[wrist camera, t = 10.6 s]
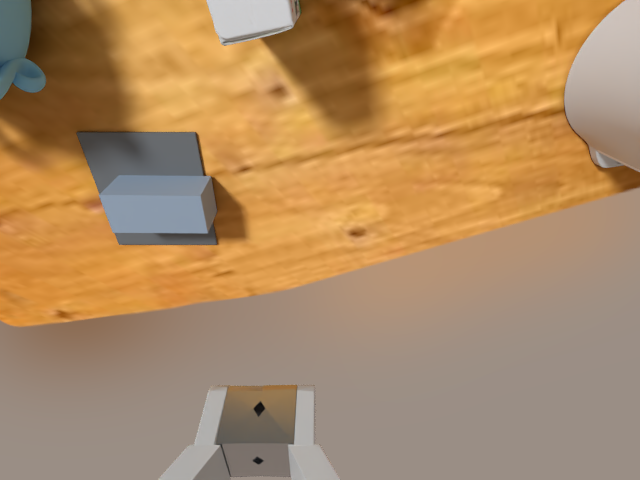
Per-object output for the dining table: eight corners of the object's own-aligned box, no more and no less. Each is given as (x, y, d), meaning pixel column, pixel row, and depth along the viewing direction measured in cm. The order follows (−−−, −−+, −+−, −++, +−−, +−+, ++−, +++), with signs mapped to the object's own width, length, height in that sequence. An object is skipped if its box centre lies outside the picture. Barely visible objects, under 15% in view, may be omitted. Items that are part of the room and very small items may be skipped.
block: (200, 195, 37) (98, 195, 37) (207, 233, 39) (113, 232, 39) (211, 176, 40) (118, 175, 40) (217, 211, 43) (130, 210, 43)
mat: (195, 132, 38) (194, 133, 38) (217, 243, 46) (216, 244, 46) (77, 131, 38) (76, 132, 38) (120, 243, 46) (119, 244, 46)
